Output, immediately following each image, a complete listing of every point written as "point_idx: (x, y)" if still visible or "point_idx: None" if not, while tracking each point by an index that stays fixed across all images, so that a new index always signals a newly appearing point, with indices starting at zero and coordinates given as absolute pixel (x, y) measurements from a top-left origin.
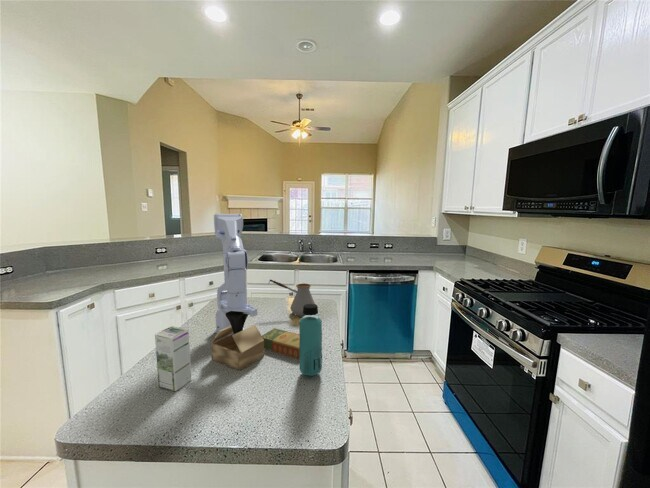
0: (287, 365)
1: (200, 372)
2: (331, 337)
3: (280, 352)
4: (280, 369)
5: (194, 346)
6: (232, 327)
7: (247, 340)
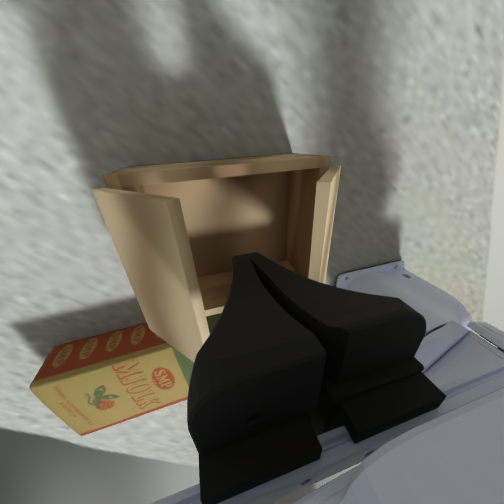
0: (36, 304)
1: (251, 46)
2: (115, 442)
3: (137, 327)
4: (22, 274)
5: (404, 173)
6: (275, 268)
7: (143, 269)
